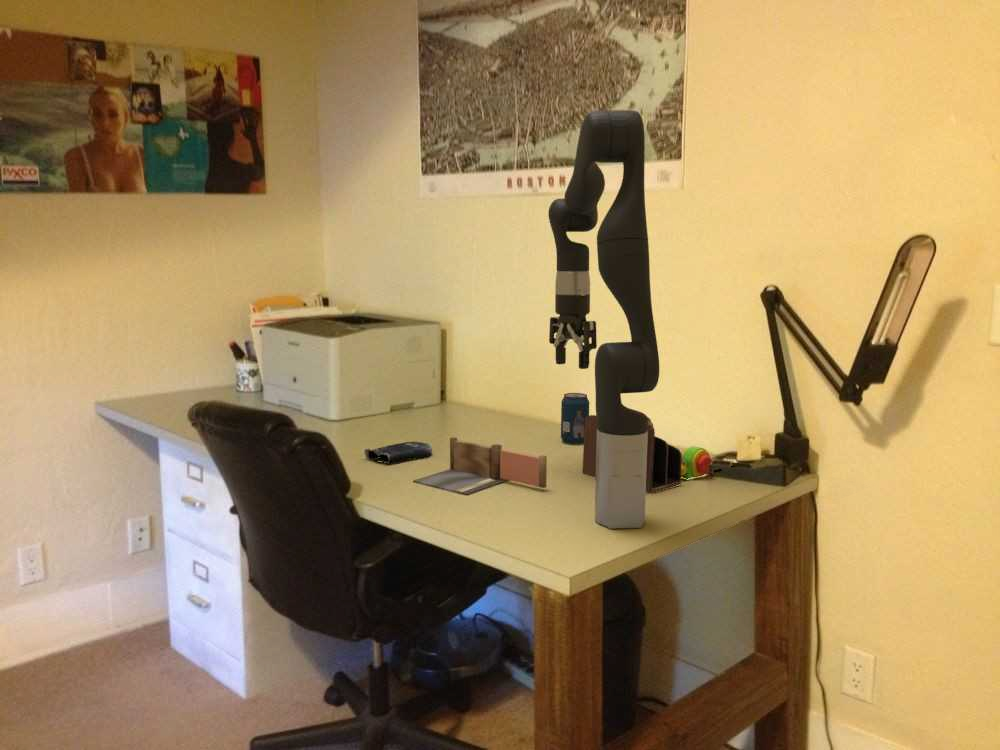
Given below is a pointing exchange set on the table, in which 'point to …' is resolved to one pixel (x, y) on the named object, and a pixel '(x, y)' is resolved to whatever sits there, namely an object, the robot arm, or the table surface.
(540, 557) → the table surface
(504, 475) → the swing panel
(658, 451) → the letter holder
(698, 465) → the toy measuring tape
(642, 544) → the table surface
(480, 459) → the grey and brown panels
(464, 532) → the table surface
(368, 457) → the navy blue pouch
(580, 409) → the soda can
